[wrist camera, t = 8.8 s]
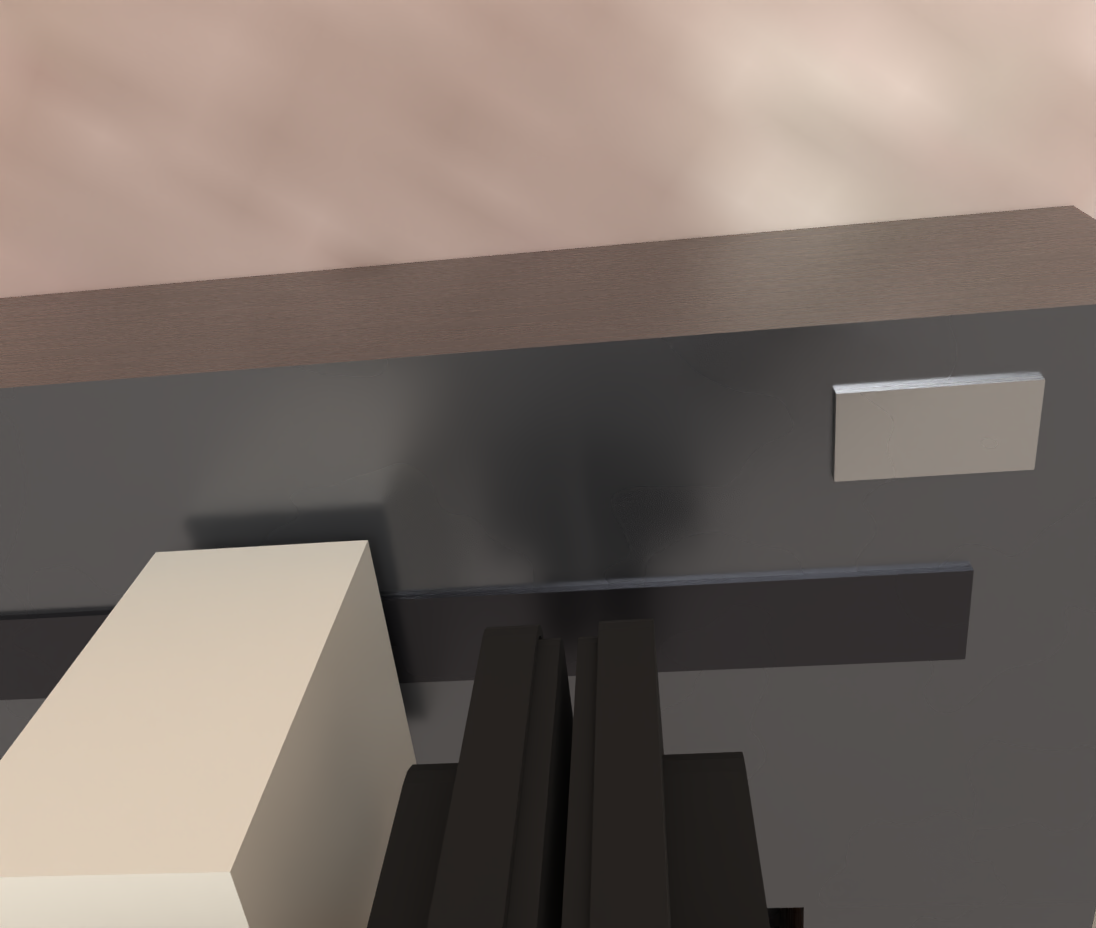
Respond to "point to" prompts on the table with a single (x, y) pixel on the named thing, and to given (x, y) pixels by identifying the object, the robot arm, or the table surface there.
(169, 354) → the control panel
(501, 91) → the table surface
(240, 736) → the cream tall block
